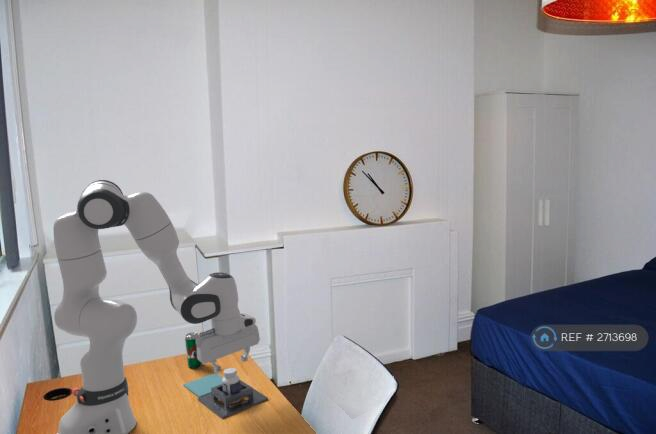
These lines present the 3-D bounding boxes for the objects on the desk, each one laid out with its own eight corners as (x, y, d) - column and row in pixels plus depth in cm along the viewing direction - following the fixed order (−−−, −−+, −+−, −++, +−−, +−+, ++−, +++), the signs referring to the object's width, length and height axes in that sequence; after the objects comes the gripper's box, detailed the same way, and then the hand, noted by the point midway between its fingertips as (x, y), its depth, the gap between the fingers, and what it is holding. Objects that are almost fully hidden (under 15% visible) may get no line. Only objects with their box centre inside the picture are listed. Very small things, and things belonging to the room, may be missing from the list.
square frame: (222, 418, 157) (220, 406, 157) (197, 400, 170) (196, 388, 169) (268, 399, 167) (267, 387, 167) (242, 383, 180) (241, 371, 179)
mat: (199, 397, 171) (199, 396, 171) (183, 385, 180) (183, 384, 180) (232, 385, 179) (232, 383, 178) (215, 374, 188) (215, 372, 188)
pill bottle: (243, 395, 171) (240, 366, 169) (239, 404, 166) (236, 374, 164) (226, 395, 171) (224, 366, 170) (221, 404, 166) (218, 374, 165)
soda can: (205, 363, 197) (201, 332, 195) (196, 369, 193) (193, 337, 191) (194, 362, 199) (190, 331, 197) (185, 367, 195) (181, 336, 193)
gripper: (199, 337, 156) (205, 381, 158) (259, 317, 168) (264, 358, 171) (190, 331, 161) (195, 374, 163) (249, 312, 173) (253, 352, 176)
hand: (231, 366), depth 167 cm, fingers open, 8 cm apart
